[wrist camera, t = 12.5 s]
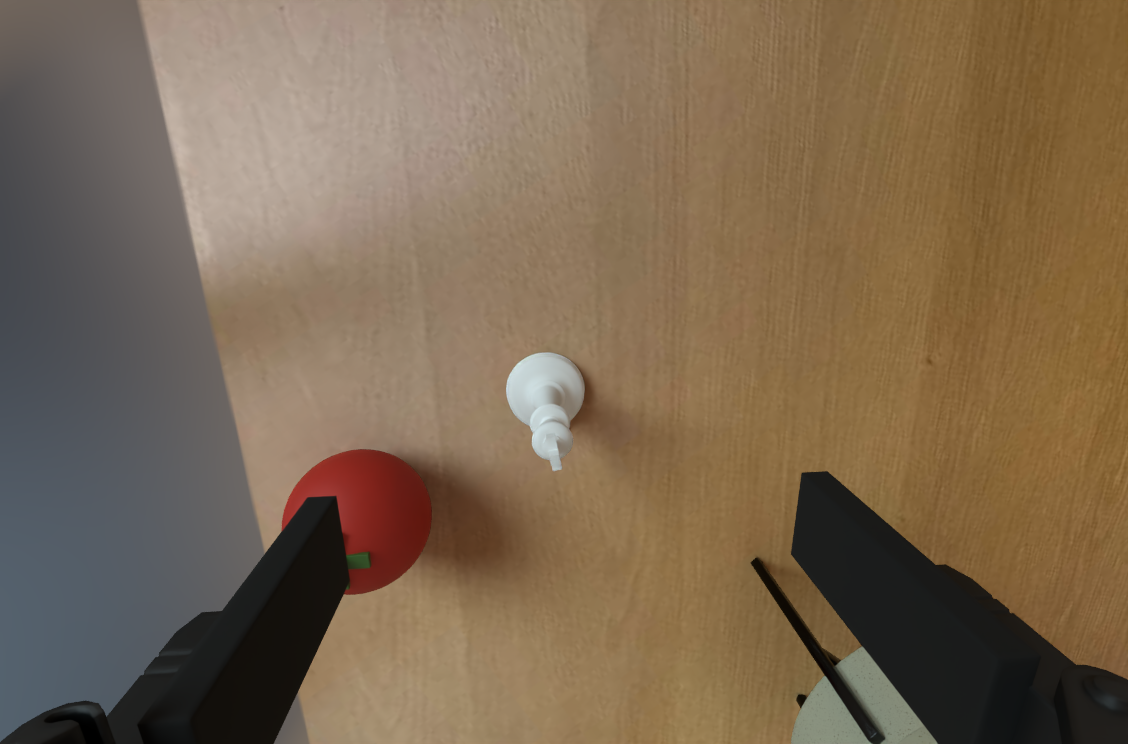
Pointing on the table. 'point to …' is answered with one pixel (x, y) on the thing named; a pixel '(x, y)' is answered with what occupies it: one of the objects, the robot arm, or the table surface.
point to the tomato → (371, 513)
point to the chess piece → (547, 402)
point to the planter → (847, 694)
